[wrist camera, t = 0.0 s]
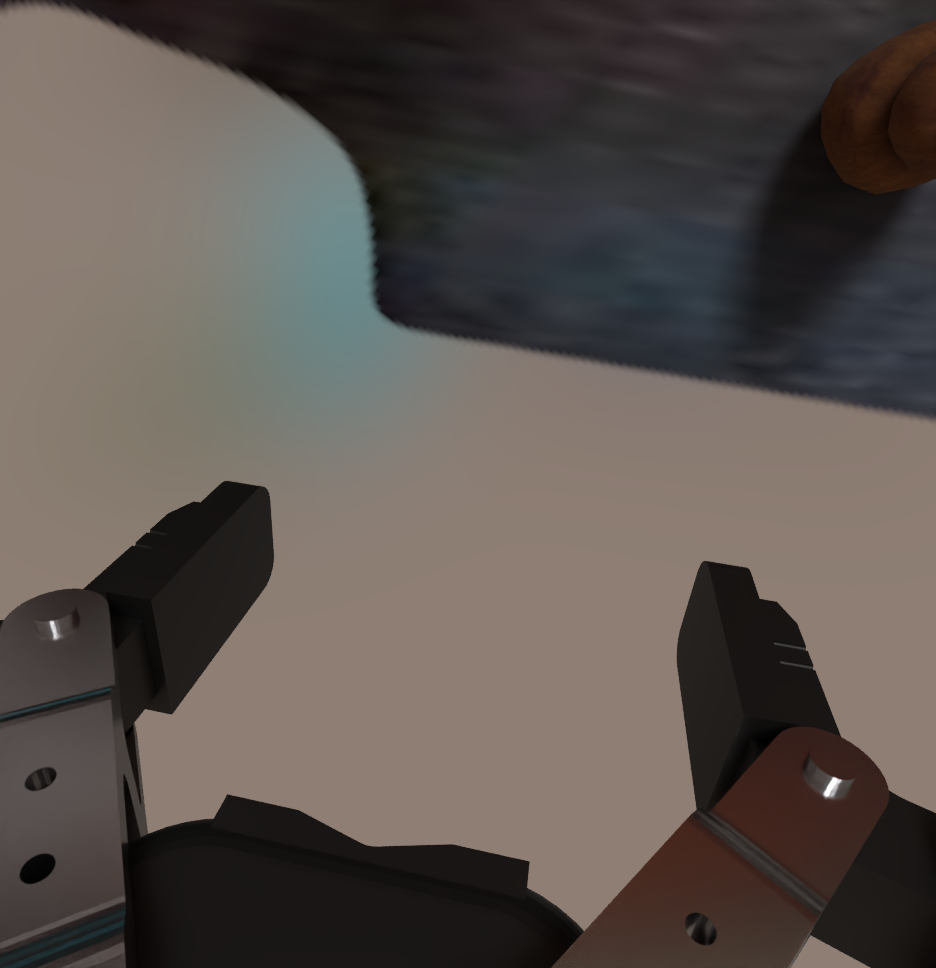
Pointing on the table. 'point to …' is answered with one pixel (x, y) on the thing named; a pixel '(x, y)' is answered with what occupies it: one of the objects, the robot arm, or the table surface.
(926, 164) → the wooden figurine
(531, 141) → the table surface
